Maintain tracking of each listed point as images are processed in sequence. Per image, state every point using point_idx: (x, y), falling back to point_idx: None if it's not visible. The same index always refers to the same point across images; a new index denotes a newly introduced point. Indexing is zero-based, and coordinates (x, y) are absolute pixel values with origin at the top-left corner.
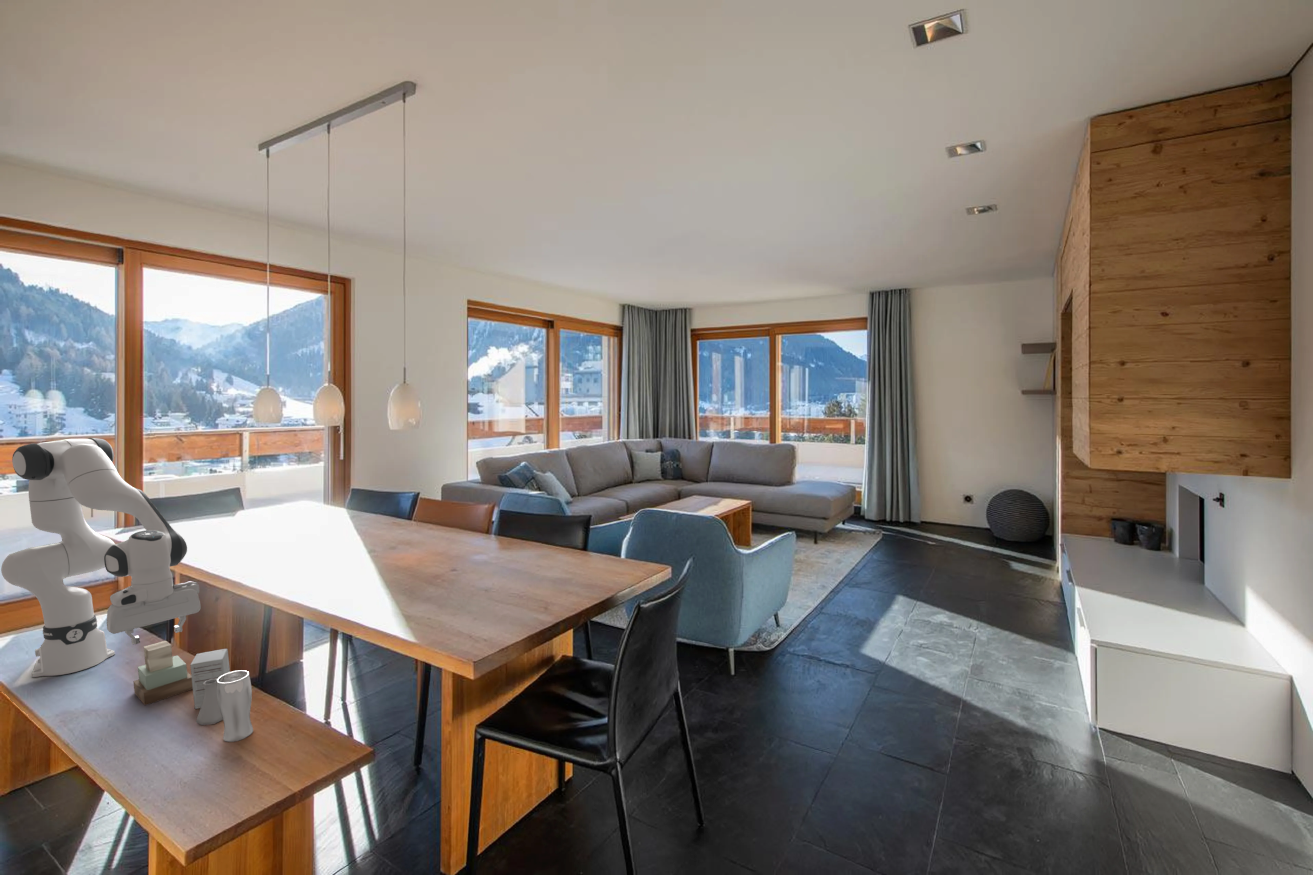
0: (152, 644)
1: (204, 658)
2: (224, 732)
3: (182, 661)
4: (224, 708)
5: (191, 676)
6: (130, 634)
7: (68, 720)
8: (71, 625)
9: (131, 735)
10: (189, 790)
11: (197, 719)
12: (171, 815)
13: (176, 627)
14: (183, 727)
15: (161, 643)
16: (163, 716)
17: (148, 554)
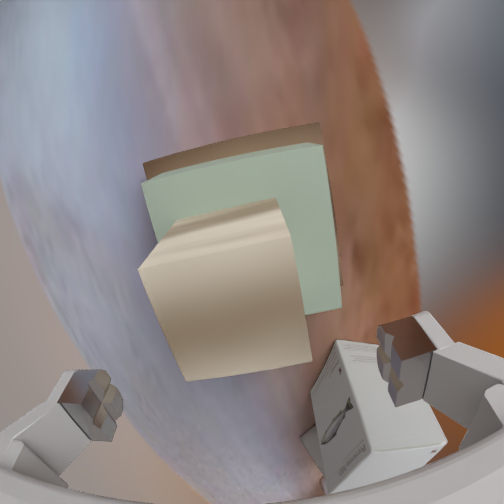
0: (194, 263)
1: (371, 482)
2: (323, 490)
3: (334, 264)
4: None
5: (339, 275)
6: (56, 472)
7: (37, 249)
8: None
9: (190, 417)
10: None
11: (303, 443)
12: None
13: (399, 403)
14: (278, 438)
15: (257, 290)
16: (245, 384)
17: None
